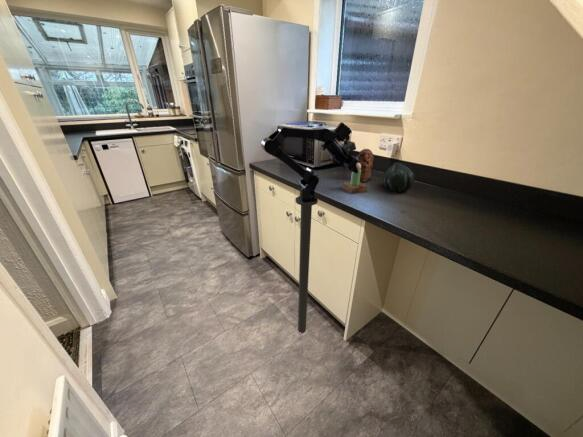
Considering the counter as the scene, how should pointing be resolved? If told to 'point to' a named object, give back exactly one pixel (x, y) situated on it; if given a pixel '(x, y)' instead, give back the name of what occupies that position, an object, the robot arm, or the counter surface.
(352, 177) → the peg doll
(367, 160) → the wooden figurine
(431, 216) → the counter surface
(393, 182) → the squash
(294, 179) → the counter surface
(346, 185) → the walnut block
